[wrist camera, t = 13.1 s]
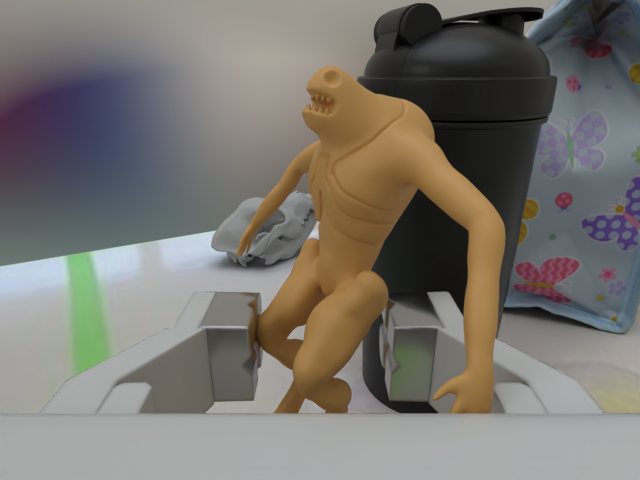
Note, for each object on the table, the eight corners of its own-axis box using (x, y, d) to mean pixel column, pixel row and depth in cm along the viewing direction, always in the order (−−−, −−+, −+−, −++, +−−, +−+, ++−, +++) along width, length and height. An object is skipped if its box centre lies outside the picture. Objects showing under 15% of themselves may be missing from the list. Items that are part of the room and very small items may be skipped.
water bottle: (534, 410, 27) (627, -4, 19) (385, 447, 25) (415, -13, 16) (447, 325, 36) (484, 20, 28) (332, 346, 34) (333, 16, 25)
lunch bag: (676, 352, 33) (825, -63, 23) (447, 311, 39) (488, -36, 29) (611, 245, 52) (676, -4, 42) (465, 229, 58) (493, 5, 48)
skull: (198, 233, 50) (265, 155, 51) (253, 275, 54) (314, 202, 55) (214, 253, 43) (291, 162, 44) (276, 299, 47) (344, 215, 48)
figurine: (170, 482, 14) (74, 76, 9) (330, 405, 16) (317, 66, 12) (295, 865, 7) (172, 72, 3) (528, 625, 10) (661, 50, 5)
